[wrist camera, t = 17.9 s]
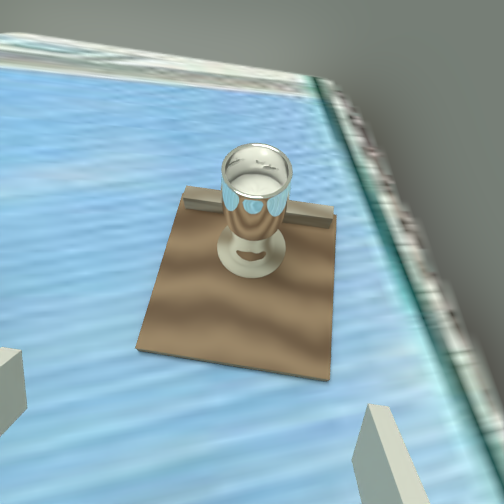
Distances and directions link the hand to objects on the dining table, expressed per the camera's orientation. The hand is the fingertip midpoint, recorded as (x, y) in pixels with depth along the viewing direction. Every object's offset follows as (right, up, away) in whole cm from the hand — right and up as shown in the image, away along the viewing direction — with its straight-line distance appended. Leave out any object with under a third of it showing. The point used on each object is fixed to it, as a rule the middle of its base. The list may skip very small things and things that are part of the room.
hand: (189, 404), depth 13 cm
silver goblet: (+2, +6, +31) cm, 32 cm away
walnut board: (+2, +2, +31) cm, 31 cm away
